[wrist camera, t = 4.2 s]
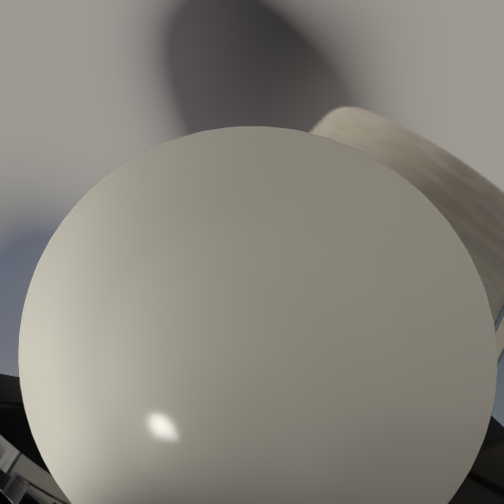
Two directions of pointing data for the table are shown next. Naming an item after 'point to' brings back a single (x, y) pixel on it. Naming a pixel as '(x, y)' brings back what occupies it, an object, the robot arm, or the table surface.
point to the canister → (257, 331)
